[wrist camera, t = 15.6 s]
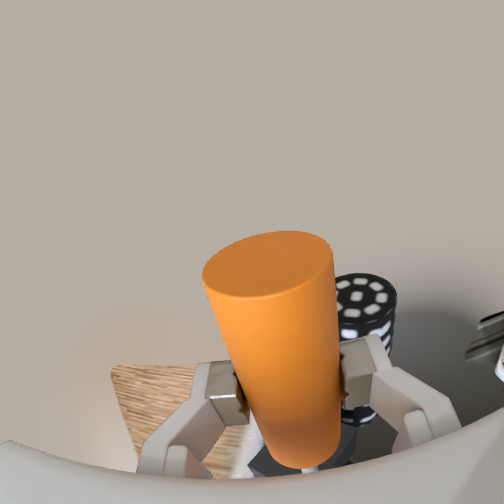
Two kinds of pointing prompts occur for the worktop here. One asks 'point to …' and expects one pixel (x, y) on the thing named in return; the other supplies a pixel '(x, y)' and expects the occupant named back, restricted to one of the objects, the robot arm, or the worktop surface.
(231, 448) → the worktop surface
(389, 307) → the spotted tube
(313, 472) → the robot arm
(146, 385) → the worktop surface
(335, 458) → the holder
